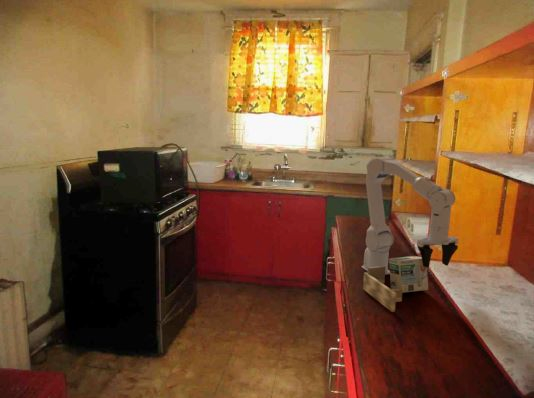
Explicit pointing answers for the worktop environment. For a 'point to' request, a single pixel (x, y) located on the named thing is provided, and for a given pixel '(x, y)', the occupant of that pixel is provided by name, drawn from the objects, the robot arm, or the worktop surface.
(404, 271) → the light bulb box
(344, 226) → the worktop surface
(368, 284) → the shelf slot
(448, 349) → the worktop surface
